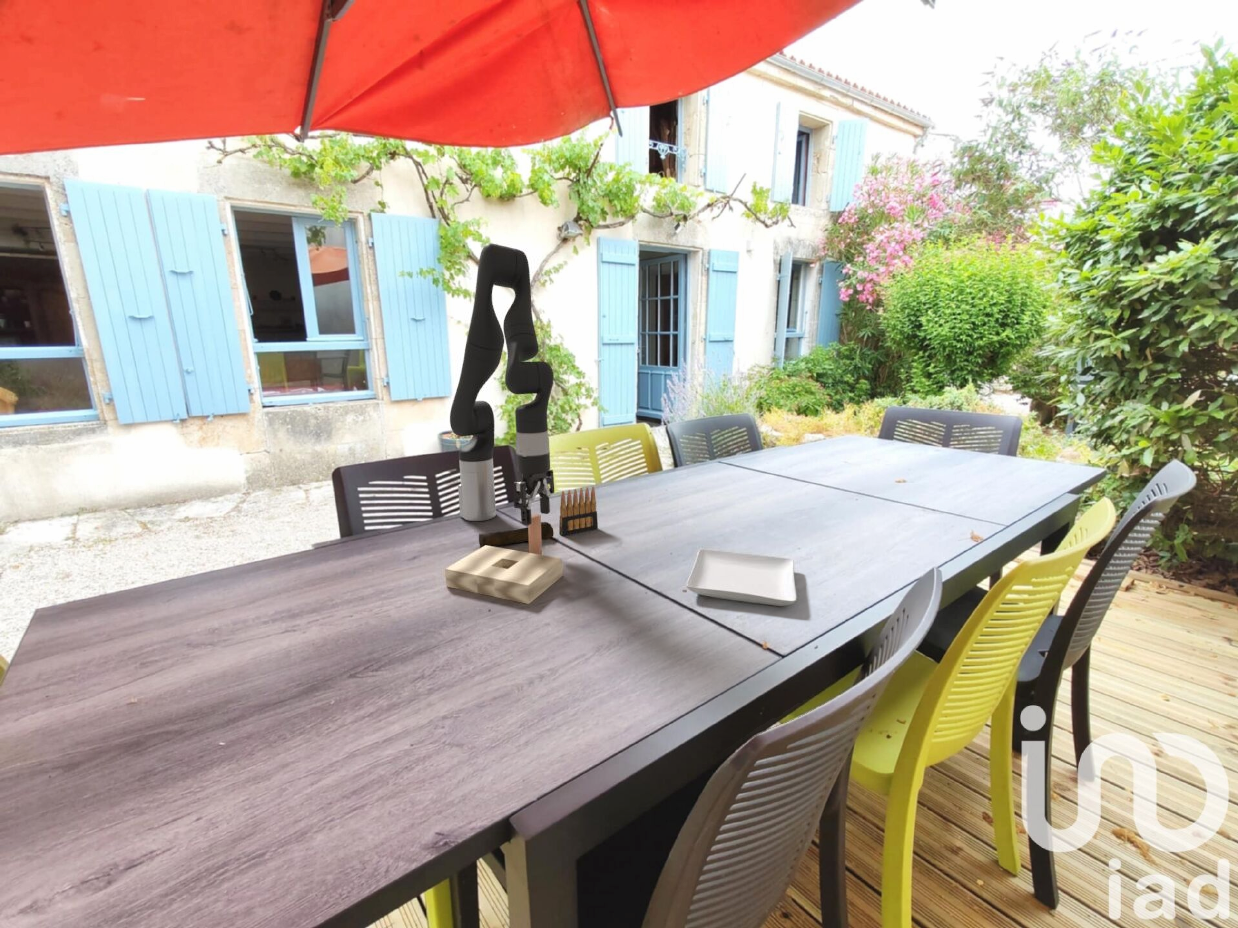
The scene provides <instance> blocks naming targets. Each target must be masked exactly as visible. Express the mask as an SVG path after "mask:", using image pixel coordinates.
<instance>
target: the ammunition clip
mask: <svg viewBox="0 0 1238 928" xmlns="http://www.w3.org/2000/svg"><path fill="white" fill-rule="evenodd" d="M578 493H579V494H578ZM572 495H573V498H572ZM559 508H560V509H559V510H560V511H559V513H560V515H559V532H558V533H559V535H560V536H561V537H566V536H570V535H576V534H581V533H585V532H590V531H591V532H592V531H595V530H598V529H599V527H598V526H599V525H598V524H599V522H598V511H597V500H596V490H595V487H594V486H593V485H592V487H591V490H590V489H589V487H588V486H587V487H586V488H585V492H584V490H583V488H582V487H581V488H580V490H579V492H577V489H576V488H575V489H574V490H573V494H572V493H571V490H570V489H568V491H567V496H566V495H565V492H564V490H562V491H561V495H560V507H559ZM580 532H581V533H580Z"/></svg>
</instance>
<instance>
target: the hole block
mask: <svg viewBox="0 0 1238 928" xmlns="http://www.w3.org/2000/svg"><path fill="white" fill-rule="evenodd" d="M563 567H564V566H563V558H561V557H555V556H549V555H543V554H542V555H539V554H533V553H529V552H527V551H521V550H517V549H516V550H515V549H510V548H509V549H508V548H503V547H498V546H494V547H493V546H487V545H485V546H483V547H482V548H478V549H476V550H475V551H473V552H472V553H470V554H467V556H465V557H463V558H461V559H459V560H458V561H456V562H454V563H453V564H450V565H449V566H447V567H446V568H444V572H445V582H446V583H445V585H446V587H447V588H453V589H457V590H462V591H466V592H471V593H475V594H480V595H485V596H489V597H493V598H498V599H503V600H507V601H511V602H513V601H514V602H518V603H522V604H527V605H530V604H531V603H532V602H533V601H535V599H537V598H538V597H539V596H541V595H542V594H543V593H544V592H545V591H547V590H548V589H549V588H550V587H551V586H553V584H554V583H556V582H557V581H558V580H560V579H561V578H562V577H563V575H564V574H563V571H564V570H563Z"/></svg>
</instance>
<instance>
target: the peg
mask: <svg viewBox="0 0 1238 928" xmlns="http://www.w3.org/2000/svg"><path fill="white" fill-rule="evenodd" d="M541 518H542V517H541V515H540V514H535V513H534V514H531V521H532V523H531V524H530V525H527V527H528V536H529V541H528V553H533V554H539V555H543V548H542V546H543V545H542V544H543V543H542V542H543V540H542V539H541V522H542V519H541Z"/></svg>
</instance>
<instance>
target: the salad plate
mask: <svg viewBox="0 0 1238 928" xmlns="http://www.w3.org/2000/svg"><path fill="white" fill-rule="evenodd" d="M694 560H695V561H694V563H693V566H692V569H691V572H689V573H690V574H689V576H688V579H687V580H686V583H685V587H686V588H687V589H688V590H689V591H691V592H693V593H694V594H697V595H701V596H706V597H709V598H716V599H722V600H730V601H735V602H736V601H737V602H743V603H744V602H745V603H750V604H760V605H768V606H769V605H771V606H778V607H784V606H785V607H786V606H789V605H793V604H794V603H796V601H797V600H798V599H797V595H798V594H797V588H796V581H795V562H794V559H792V558H788V557H780V556H773V555H772V556H771V555H765V554H764V555H763V554H756V553H749V552H747V553H746V552H739V551H729V550H728V551H727V550H721V549H720V550H718V549H709V548H699V550H698V551H697V554H696V557H695V559H694Z"/></svg>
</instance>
